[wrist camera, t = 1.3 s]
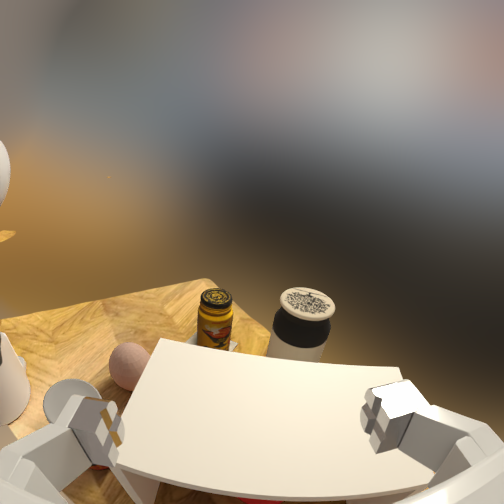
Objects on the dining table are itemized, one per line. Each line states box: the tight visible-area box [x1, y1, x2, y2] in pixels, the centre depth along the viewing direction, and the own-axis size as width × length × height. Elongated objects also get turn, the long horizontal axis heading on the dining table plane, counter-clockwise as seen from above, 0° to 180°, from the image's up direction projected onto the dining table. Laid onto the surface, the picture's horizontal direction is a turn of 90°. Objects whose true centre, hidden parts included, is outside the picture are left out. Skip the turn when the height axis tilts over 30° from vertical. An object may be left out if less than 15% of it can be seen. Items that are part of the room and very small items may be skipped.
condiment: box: [185, 288, 238, 352], centre depth 51 cm, size 7×8×12 cm
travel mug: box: [266, 288, 335, 363], centre depth 42 cm, size 8×8×18 cm
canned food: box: [43, 379, 109, 470], centre depth 27 cm, size 8×8×11 cm
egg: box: [109, 342, 150, 391], centre depth 40 cm, size 7×7×8 cm
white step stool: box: [109, 338, 434, 504], centre depth 25 cm, size 26×15×17 cm, turn 85°
